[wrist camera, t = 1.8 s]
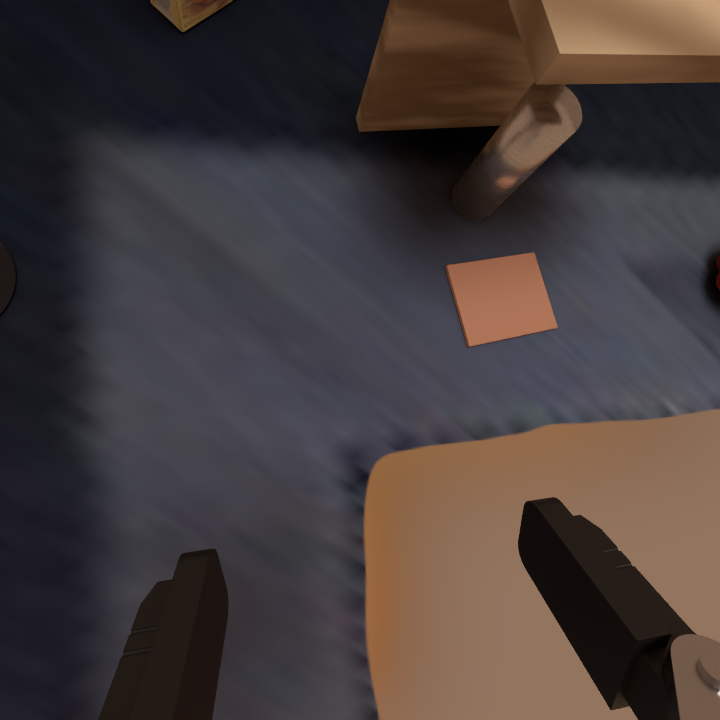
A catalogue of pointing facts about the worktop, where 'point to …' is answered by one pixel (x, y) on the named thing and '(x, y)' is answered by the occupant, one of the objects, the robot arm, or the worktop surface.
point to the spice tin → (517, 149)
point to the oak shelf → (526, 54)
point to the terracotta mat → (500, 298)
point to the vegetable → (719, 277)
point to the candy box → (188, 10)
